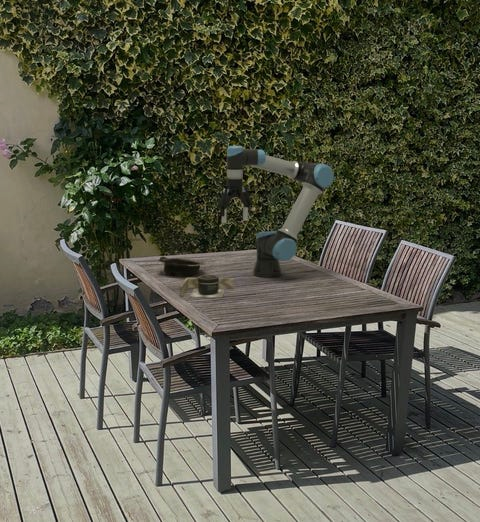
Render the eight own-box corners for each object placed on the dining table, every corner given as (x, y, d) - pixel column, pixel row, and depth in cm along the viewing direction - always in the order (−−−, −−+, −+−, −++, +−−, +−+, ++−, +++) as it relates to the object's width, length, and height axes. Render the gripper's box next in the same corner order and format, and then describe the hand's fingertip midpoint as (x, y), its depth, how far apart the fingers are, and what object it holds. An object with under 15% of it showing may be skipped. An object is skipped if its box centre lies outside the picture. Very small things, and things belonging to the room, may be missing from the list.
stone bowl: (151, 276, 387) (151, 259, 386) (171, 270, 411) (171, 254, 410) (194, 279, 379) (194, 261, 378) (213, 273, 402) (213, 256, 401)
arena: (233, 288, 362) (233, 278, 361) (229, 298, 343) (229, 287, 342) (186, 287, 364) (186, 277, 363) (179, 297, 345) (179, 286, 344)
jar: (194, 291, 354) (194, 275, 353) (214, 289, 358) (213, 274, 357) (202, 296, 345) (202, 280, 344) (222, 294, 349) (222, 278, 348)
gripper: (249, 176, 371) (249, 218, 375) (209, 179, 355) (210, 223, 359) (259, 177, 365) (259, 220, 369) (219, 180, 349) (219, 224, 353)
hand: (234, 221), depth 364 cm, fingers open, 13 cm apart
